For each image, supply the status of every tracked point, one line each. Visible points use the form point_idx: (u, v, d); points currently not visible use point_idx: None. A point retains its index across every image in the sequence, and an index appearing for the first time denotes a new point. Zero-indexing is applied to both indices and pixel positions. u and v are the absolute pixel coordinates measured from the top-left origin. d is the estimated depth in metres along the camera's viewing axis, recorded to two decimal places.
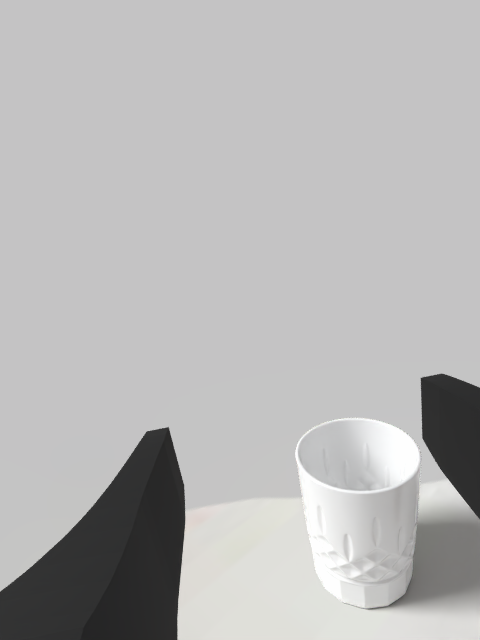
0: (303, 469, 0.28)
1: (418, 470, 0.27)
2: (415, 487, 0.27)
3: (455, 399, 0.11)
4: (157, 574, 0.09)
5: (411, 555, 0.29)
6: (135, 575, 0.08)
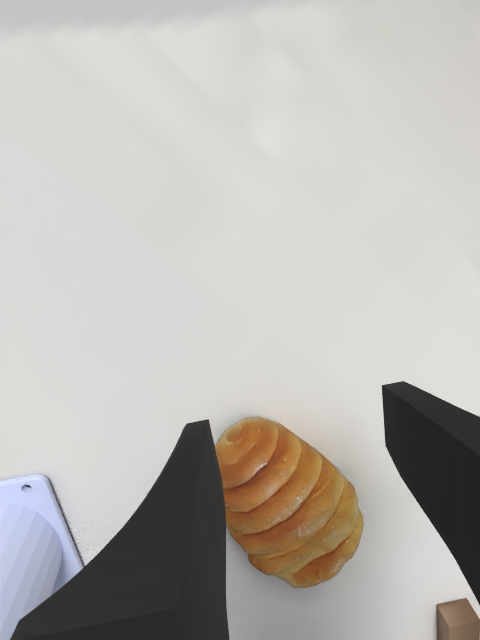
0: None
1: None
2: None
3: (410, 408, 0.11)
4: (211, 563, 0.09)
5: None
6: (199, 562, 0.08)
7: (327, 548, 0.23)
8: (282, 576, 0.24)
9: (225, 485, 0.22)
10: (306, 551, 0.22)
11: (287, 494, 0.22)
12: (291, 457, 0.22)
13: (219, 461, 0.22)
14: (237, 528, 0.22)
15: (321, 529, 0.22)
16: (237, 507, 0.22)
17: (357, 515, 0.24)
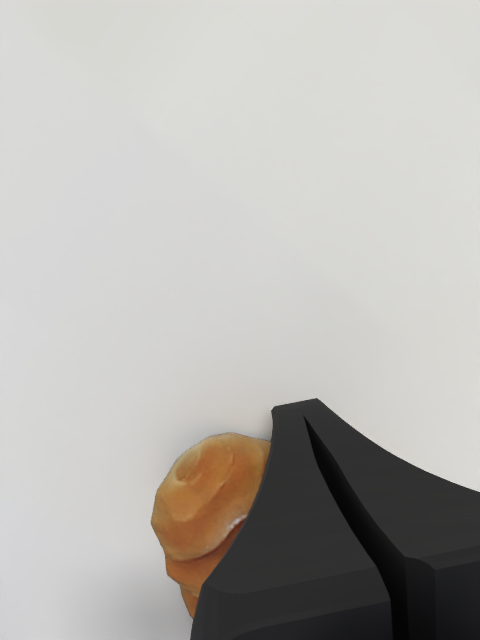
0: None
1: None
2: None
3: (310, 428, 0.11)
4: None
5: None
6: None
7: None
8: None
9: (179, 556, 0.13)
10: None
11: None
12: None
13: (165, 516, 0.13)
14: None
15: None
16: None
17: None
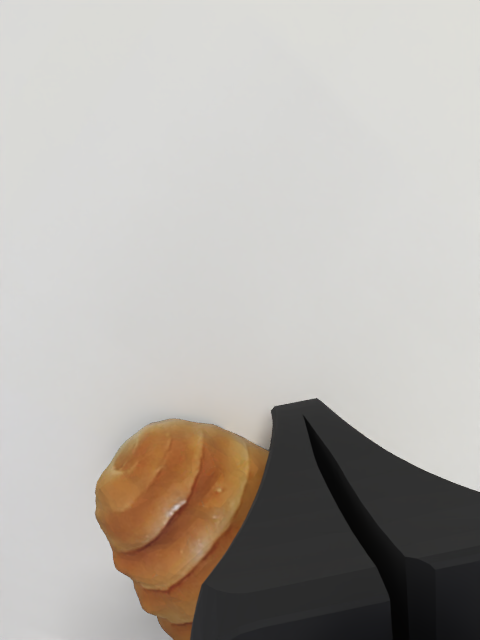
0: None
1: None
2: None
3: (310, 428, 0.11)
4: None
5: None
6: None
7: None
8: None
9: (123, 548, 0.12)
10: None
11: None
12: (230, 483, 0.12)
13: (104, 507, 0.12)
14: (160, 615, 0.13)
15: None
16: (149, 583, 0.12)
17: None
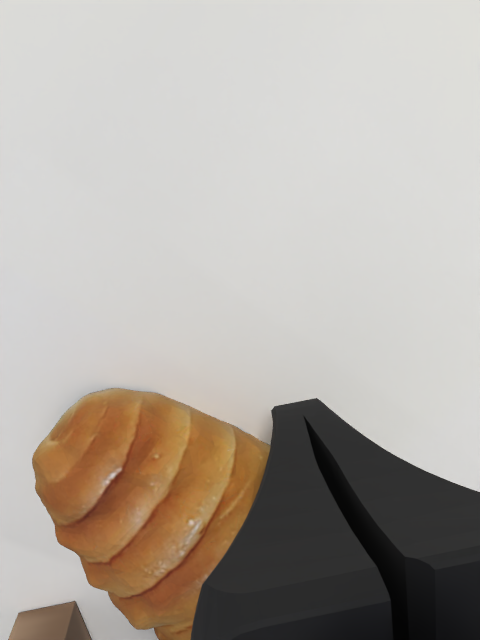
0: None
1: None
2: None
3: (310, 428, 0.11)
4: None
5: None
6: None
7: None
8: None
9: (62, 520, 0.12)
10: None
11: (169, 519, 0.12)
12: (168, 449, 0.12)
13: (41, 479, 0.12)
14: (106, 589, 0.13)
15: None
16: (91, 556, 0.12)
17: None
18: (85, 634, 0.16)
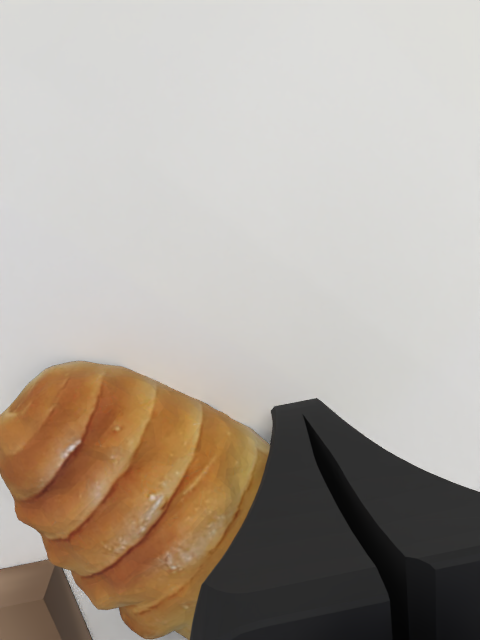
0: None
1: None
2: None
3: (310, 428, 0.11)
4: None
5: None
6: None
7: None
8: (183, 635, 0.13)
9: (21, 494, 0.12)
10: (198, 592, 0.12)
11: (129, 494, 0.11)
12: (130, 421, 0.11)
13: None
14: (67, 567, 0.12)
15: (214, 550, 0.12)
16: (50, 532, 0.12)
17: None
18: (68, 593, 0.15)
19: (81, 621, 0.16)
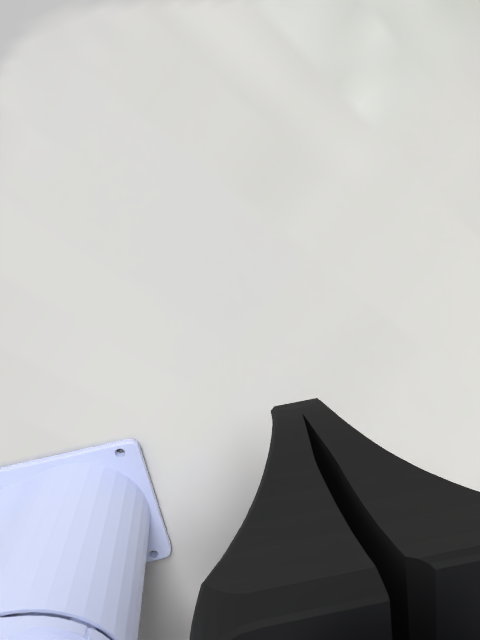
0: None
1: None
2: None
3: (311, 428, 0.11)
4: None
5: None
6: None
7: None
8: None
9: None
10: None
11: None
12: None
13: None
14: None
15: None
16: None
17: None
18: None
19: None
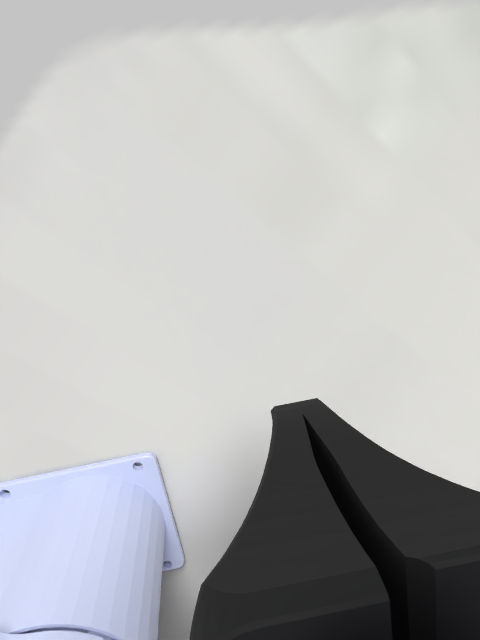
0: None
1: None
2: None
3: (311, 428, 0.11)
4: None
5: None
6: None
7: None
8: None
9: None
10: None
11: None
12: None
13: None
14: None
15: None
16: None
17: None
18: None
19: None
